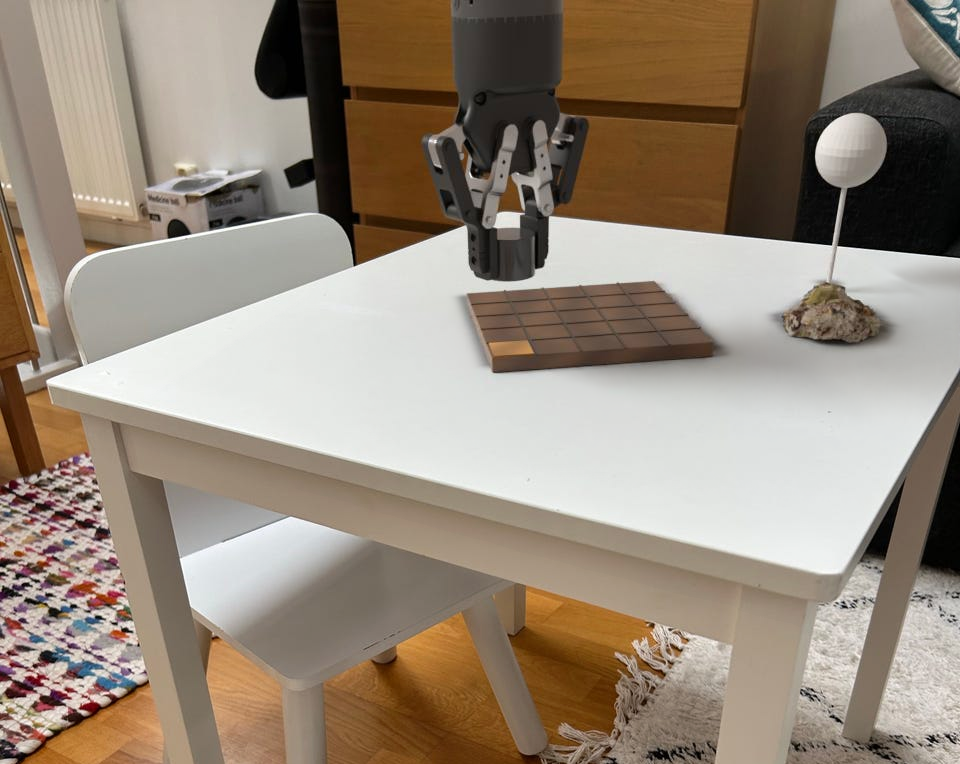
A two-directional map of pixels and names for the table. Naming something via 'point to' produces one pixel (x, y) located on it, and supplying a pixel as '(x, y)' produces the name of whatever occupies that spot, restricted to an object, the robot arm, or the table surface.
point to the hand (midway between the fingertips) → (509, 271)
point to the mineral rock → (831, 316)
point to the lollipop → (849, 159)
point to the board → (583, 326)
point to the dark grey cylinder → (515, 254)
